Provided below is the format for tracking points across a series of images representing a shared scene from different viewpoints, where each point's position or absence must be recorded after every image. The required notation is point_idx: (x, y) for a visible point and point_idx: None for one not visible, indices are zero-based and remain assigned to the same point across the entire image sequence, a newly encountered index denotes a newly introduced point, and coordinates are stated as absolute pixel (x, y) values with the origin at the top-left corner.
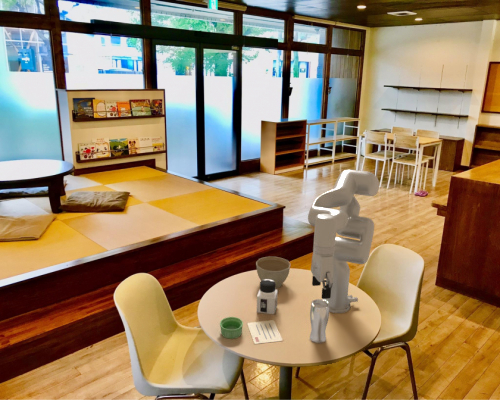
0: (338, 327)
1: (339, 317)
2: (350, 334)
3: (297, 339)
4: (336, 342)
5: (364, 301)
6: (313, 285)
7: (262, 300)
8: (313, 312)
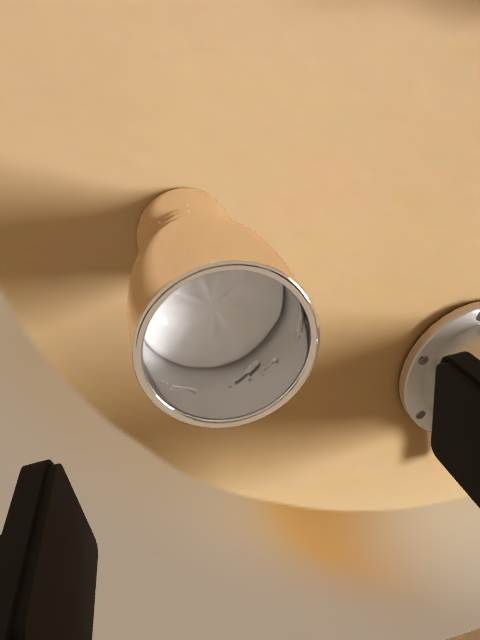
0: None
1: (367, 372)
2: None
3: (172, 98)
4: None
5: None
6: (440, 369)
7: None
8: (161, 255)
